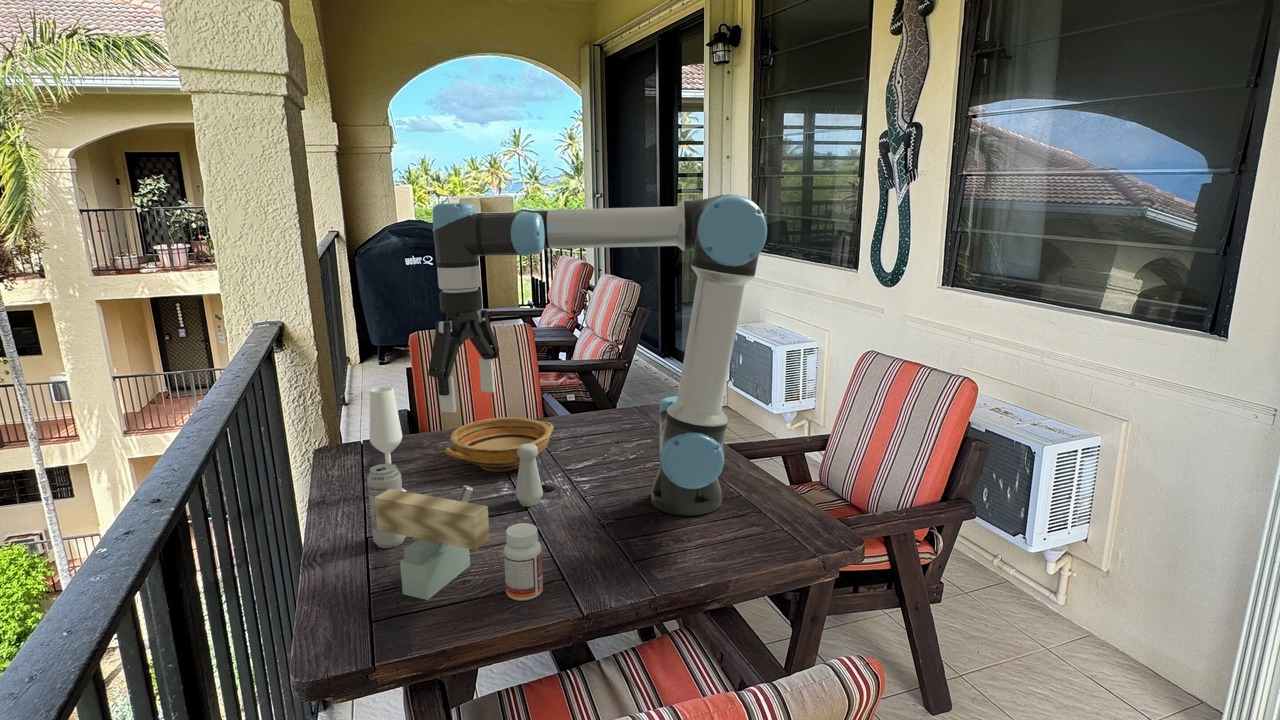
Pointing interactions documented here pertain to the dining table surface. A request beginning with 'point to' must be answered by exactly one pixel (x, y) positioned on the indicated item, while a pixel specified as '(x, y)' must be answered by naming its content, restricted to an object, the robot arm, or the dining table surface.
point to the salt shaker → (528, 476)
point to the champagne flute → (384, 421)
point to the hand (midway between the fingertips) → (469, 401)
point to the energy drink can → (378, 483)
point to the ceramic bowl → (498, 441)
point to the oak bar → (432, 518)
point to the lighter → (465, 494)
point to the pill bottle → (523, 562)
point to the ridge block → (431, 567)
